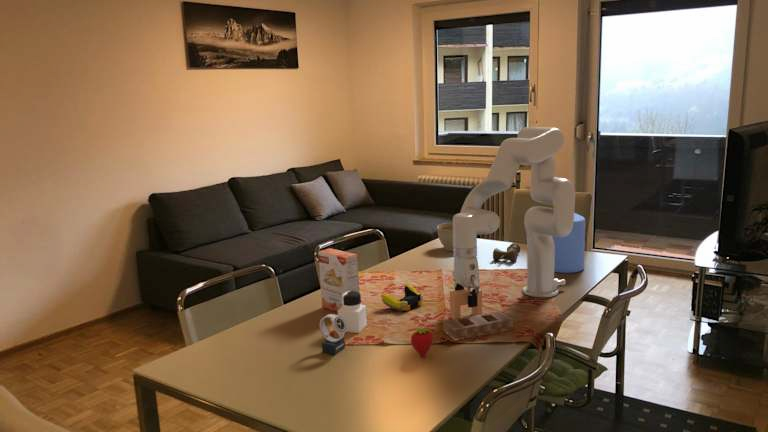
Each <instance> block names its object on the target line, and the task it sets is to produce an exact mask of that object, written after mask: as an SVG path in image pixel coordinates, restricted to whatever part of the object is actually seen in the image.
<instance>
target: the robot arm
mask: <svg viewBox="0 0 768 432" xmlns="http://www.w3.org/2000/svg"><path fill="white" fill-rule="evenodd" d="M565 139H566V138H565V135H564V133H563V131H562V130H561V129H559V128H557V127H548V126H547V127H546V126H545V127H544V126H543V127H542V126H526V127H523V128H521V129H519V130H518V132H517V137H509V138H506V139H504V140H503V141H502V142H501V144H500V145H499V148H498V150H497V152H496V154H495V158H494V159H493V161H492V164H491V167H490V169H489V171H488V173H487V176H486V177H485V178H484V179H483V180H482V181H480V182H479V183H478V184H477V185H476V186H474V188H472V190H471V191H470V192H469V193H468V195H467V196H466V197H465V200H464V202H463V204H462V207H461V209H460V212H459V213H456V214H454V215H453V217H452V223H453V251H452V252H453V258H454V259H453V271H452V275H453V281H454V283H453V285H454V291H457V290H463V289H467V290H468V294H469V295H468V304H467V308H472V307H476V306H477V295H478V292H479V289H480V268H479V262H478V257H477V256H478V250H477V249H478V244H477V243H478V241H477V239H478V237H477V236H478V235H490V234H493V233H495V232H496V231H497V230H498V229H499V227H500V225H501V219H500V216H499V215H498V214H497V213H496V212H495V211H490V210H487V209H483V208H482V206H483V204H484V203H485V202H486V201H487V200H488V199H490V197H492V196H494V195H496V194H499V193H502V192H504V191H507V190H509V189H510V188H511V187H512V184H513V182H514V180H515V178H516V175H517V173H518V171H519V168H520V166H521V165H525V166H526V165H527V166H530V169H531V170H530V188H529V189H530V190H529V191H530V192H529V193H530V197H531V199H532V200H533V201H534V202H536V203H540V204H545V205H551V206H553V207H550V206H549V207H547V206H542V205H541V206H540V205H538V206H532V207H530V208H528V209H527V211H526V212H525V215H524V217H523V218H524V222H523V223H524V228H525V232H526V245H527V247H526V254H527V255H526V256H527V257H526V259H527V260H526V264H527V265H526V266H527V268H526V273H527V274H526V278H527V279H526V280H527V281H526V285H525V286H524V287H522V292H523V294H524V295H527V296H530V297H533V298H552V297H555V296H557V295H559V288H558V287H559V286H564V285H566V283H567V281H566V279H564V278H563V279H558V278H555V272H554V258H555V245H554V240H553V238H552V236H554V237H566V236H568V235H569V234H570V232H571V231H572V228H573V223H574V213H575V208H576V207H575V206H576V189H575V186H574V184H573V182H572V181H571V180H570V179H568V178H564V177H557V161H556V159H557V158H556V157H555V155H556V154H558V153H559V152H560V151H561V150H562V149H563V148H564V145H565ZM471 288H473V290H472V291H471V290H470V289H471Z"/></svg>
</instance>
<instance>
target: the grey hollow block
mask: <svg viewBox="0 0 768 432" xmlns="http://www.w3.org/2000/svg"><path fill="white" fill-rule="evenodd" d="M442 325H443V327H442V329H443V330H442V332H443V331H445V332H447V333H448V334H449V335H450V336H451V337H453V338H454V339H462V338H468V339H470V338H469V337H473V338H476V337H475V336H478V337H482V336H481V335H484V336H488V334H489V335H493V333H494V334H498V332H499V333H503V332H508V331H513V330H514V319H513V318H512V317H510V316H509V315H507V314H505V313H504V312H502V311H501V310H497V311H492V312H486V313H482V314H480V315H470V316H464V317H460V318H457V319H447V320H443V321H442Z"/></svg>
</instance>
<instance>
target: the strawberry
mask: <svg viewBox="0 0 768 432" xmlns="http://www.w3.org/2000/svg"><path fill="white" fill-rule="evenodd" d="M418 324H419V325H421V323H420V322H419V323H418ZM427 328H428V326H426V327H422V328H419V327H417V328H416V327H413V329H414V330H416V331H415V332H413V334H412V335H411V337H410V341H411V342H410V343H411V346H412V348H413V349H414V350H415V351H416V352H417V353H418V355H419V356H420V357H422V358H424V357H426V355H427V353H428V352H429V350H430V348H431V346H432V344H433V334H432V331H431V330H430V329H427Z"/></svg>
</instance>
